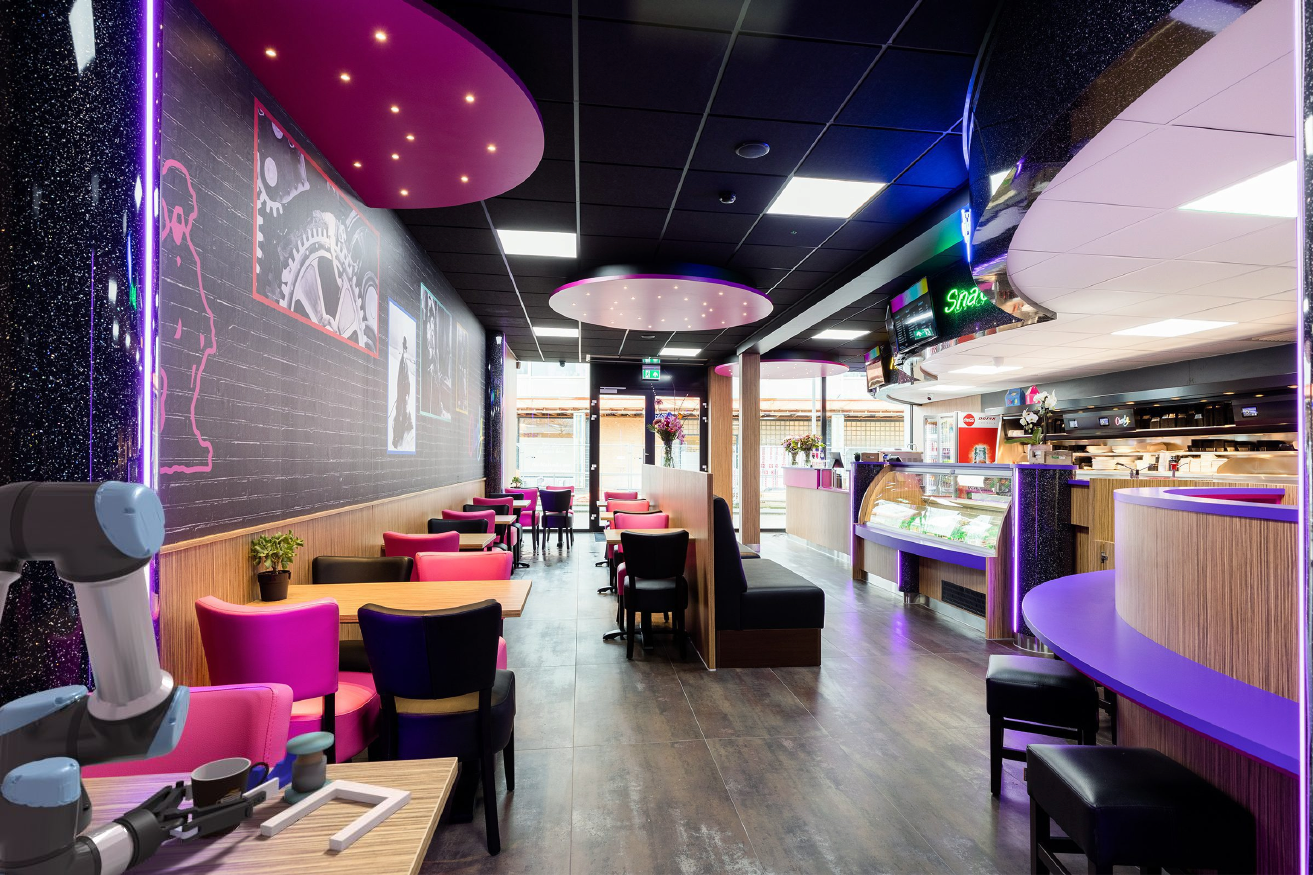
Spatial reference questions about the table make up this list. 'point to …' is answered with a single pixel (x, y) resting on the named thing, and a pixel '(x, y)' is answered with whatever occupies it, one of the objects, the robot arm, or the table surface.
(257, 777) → the cable clip
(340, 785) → the u-shaped bracket
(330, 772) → the table surface
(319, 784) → the bobbin
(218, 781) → the coffee mug
